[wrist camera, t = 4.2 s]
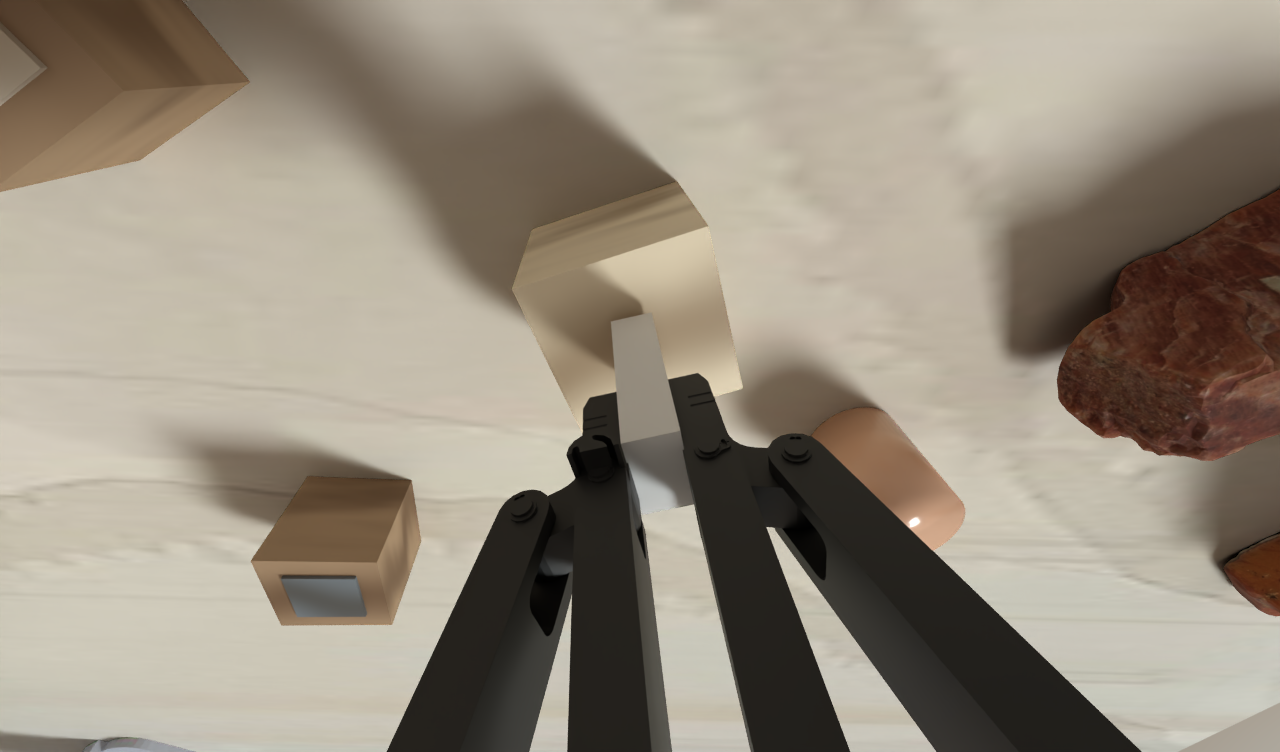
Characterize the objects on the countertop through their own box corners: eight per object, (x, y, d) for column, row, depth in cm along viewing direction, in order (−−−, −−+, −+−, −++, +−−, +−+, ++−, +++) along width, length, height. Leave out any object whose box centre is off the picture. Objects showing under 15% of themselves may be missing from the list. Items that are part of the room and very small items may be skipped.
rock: (1030, 393, 31) (1171, 503, 23) (1007, 327, 28) (1161, 430, 20) (1378, 211, 25) (1703, 279, 18) (1399, 103, 22) (1804, 132, 15)
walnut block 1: (-36, -11, 16) (-328, -44, 11) (84, -118, 15) (-179, -210, 10) (141, 159, 19) (-22, 196, 14) (251, 81, 18) (117, 91, 13)
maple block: (532, 229, 22) (511, 289, 16) (676, 180, 22) (708, 225, 16) (584, 350, 26) (582, 434, 20) (708, 313, 25) (743, 388, 20)
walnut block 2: (308, 475, 29) (248, 564, 24) (411, 479, 30) (375, 565, 25) (328, 538, 32) (279, 628, 27) (421, 540, 33) (390, 627, 28)
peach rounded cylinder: (805, 418, 30) (857, 504, 24) (900, 398, 30) (975, 480, 24) (805, 482, 33) (851, 571, 28) (891, 465, 33) (954, 551, 27)
